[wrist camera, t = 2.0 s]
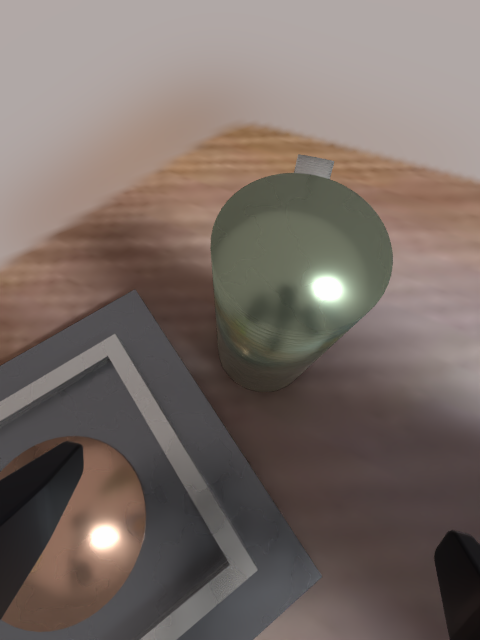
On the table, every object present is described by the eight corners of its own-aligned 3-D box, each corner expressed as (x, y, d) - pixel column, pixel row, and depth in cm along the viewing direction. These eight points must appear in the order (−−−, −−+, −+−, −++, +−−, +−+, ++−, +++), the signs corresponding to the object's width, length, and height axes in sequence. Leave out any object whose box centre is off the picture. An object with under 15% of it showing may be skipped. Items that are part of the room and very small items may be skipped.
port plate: (-51, 903, 14) (-89, 966, 13) (-176, 473, 19) (-214, 476, 18) (318, 571, 19) (327, 584, 17) (137, 293, 24) (131, 282, 22)
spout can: (300, 401, 22) (387, 350, 10) (208, 380, 22) (189, 308, 10) (316, 293, 25) (400, 153, 13) (234, 275, 25) (242, 122, 13)
